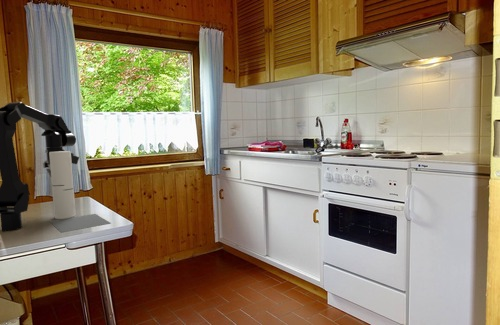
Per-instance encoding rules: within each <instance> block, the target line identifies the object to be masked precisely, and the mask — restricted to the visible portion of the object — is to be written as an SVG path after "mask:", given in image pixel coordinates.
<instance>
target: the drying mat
mask: <svg viewBox="0 0 500 325" xmlns="http://www.w3.org/2000/svg"><path fill="white" fill-rule="evenodd" d="M49 223H50V224H52V225H53V226H54V227H55V228H56V229H57V231H59V232H60V233H66V232H71V231H77V230H81V229H83V230H84V229H88V228H94V227H99V226H105V225H110V224H112V222H110V221H109V220H107V219H105V218H104V217H102V216H100V215H98V214H96V213H92V214H85V215H80V216H79V215H78V216H74V217H70V218H64V219H53V220H49Z"/></svg>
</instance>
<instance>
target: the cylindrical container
mask: <svg viewBox="0 0 500 325" xmlns="http://www.w3.org/2000/svg"><path fill="white" fill-rule="evenodd" d="M71 153H72V152H71V150H65V151H58V152H49V156H50V168H51V177H50V178H51V180H50V181H51V190H52V200H53V213H54V214H53V215H54V219H55V220H60V219H66V218H72V217H77V216H76V215H77V214H76V203H75V202H76V201H75V189H74V187H75V186H74V176H73V165H72V164H73V163H72V161H71Z"/></svg>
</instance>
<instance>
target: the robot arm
mask: <svg viewBox="0 0 500 325" xmlns="http://www.w3.org/2000/svg"><path fill="white" fill-rule="evenodd" d="M22 118H23V119H24V120H26V121H27V120H28V121H30V122H33V123H35V124H37V125H38V127H39V128H41V129H42V130H44V131H43V132H42V133H41V135H40V136H41V137H44V138H45V139H44V140H45V148H46V149H45V154H46V160H45V161H43V163H42V165H43V168H46V169H45V170H46V172H47V173H48V176H49V177H50V178H51V168H50V156H49V152H58V151H66V150H65V149H63V148H65V147H73V146H75V144H76V143H77V138H76V135H74V134H73V133H72V130H71V129H70V130H69V127H68V126H67V124H66V123H65V121H64V118H63V117H62V116H61V115H58V114H53V113H52V114H51V113H45V112H43V111H40V110H38V109H36V108H33V107H31V106H28V105H27V104H25V103H23V102H22V101H19V102H18V101H17V102H15V101H14V102H9V103H7V104H6V105H4V106H2V107H0V179H1V184H0V225H1V232H3V233H4V232H13V231H16V230H21V229H22V228H23V219H22V217H23V216H22V213H23V212H27V211H28V206H29V202H30V195H31V193H30V191H29V190H30V189H29V188H30V187H29V185H28V183H24V182H22V181H21V179H20V174H19V168H18V167H19V166H18V162H17V157H16V150H15V146H14V140H13V139H14V138H13V137H14V135H15V134H16V131H17V123H18V122H19V121H21V120H22ZM79 159H80V156H77V155H74V153H72V152H71V161H72V164H73V165H78V162H79Z"/></svg>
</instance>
